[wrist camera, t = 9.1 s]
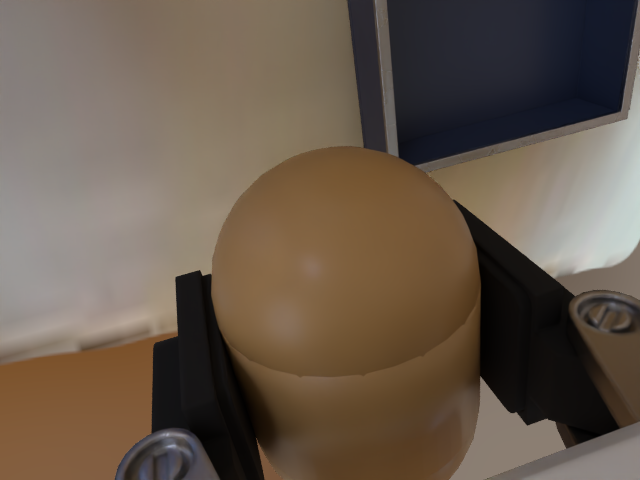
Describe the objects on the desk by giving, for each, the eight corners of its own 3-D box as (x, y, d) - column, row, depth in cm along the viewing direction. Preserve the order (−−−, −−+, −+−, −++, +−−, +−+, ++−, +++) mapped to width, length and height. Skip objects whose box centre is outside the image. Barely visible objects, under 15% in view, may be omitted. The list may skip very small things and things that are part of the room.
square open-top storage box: (363, 156, 27) (391, 181, 24) (330, -135, 21) (361, -152, 18) (577, 101, 30) (628, 118, 26) (608, -178, 23) (680, -201, 20)
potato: (258, 414, 14) (299, 605, 10) (172, 147, 10) (179, 278, 6) (422, 361, 15) (524, 516, 11) (402, 92, 11) (555, 172, 7)
